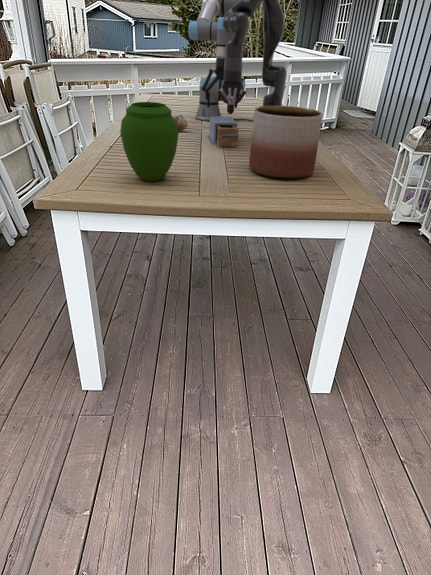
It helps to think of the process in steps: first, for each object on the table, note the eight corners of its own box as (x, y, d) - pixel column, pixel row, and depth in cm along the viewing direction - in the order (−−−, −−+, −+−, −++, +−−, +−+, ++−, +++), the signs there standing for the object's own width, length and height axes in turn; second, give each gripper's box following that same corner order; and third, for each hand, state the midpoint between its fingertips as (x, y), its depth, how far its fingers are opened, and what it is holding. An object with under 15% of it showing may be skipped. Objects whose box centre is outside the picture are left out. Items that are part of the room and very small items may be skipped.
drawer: (239, 148, 186) (241, 130, 182) (219, 148, 185) (220, 130, 180) (231, 138, 203) (232, 122, 198) (212, 138, 201) (213, 121, 197)
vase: (131, 189, 135) (125, 110, 122) (118, 172, 150) (112, 100, 137) (186, 184, 142) (187, 109, 129) (169, 168, 157) (167, 99, 144)
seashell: (187, 130, 219) (187, 114, 215) (188, 132, 214) (188, 116, 210) (169, 129, 218) (169, 113, 214) (170, 131, 213) (169, 115, 209)
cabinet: (235, 144, 197) (237, 123, 192) (213, 144, 195) (214, 122, 190) (229, 136, 210) (230, 116, 205) (209, 136, 209) (209, 116, 204)
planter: (323, 180, 153) (335, 117, 141) (257, 181, 149) (264, 116, 137) (300, 162, 174) (309, 106, 162) (242, 162, 170) (247, 104, 158)
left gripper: (198, 57, 183) (197, 108, 194) (252, 59, 186) (248, 109, 198) (196, 55, 189) (195, 105, 200) (249, 57, 193) (245, 106, 204)
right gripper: (218, 69, 167) (216, 115, 176) (250, 70, 168) (246, 115, 178) (215, 68, 173) (214, 112, 182) (246, 69, 175) (243, 112, 184)
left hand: (222, 107), depth 199 cm, fingers open, 13 cm apart
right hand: (230, 113), depth 180 cm, fingers closed
